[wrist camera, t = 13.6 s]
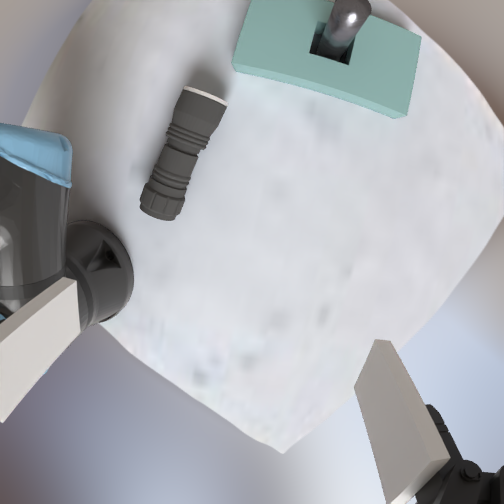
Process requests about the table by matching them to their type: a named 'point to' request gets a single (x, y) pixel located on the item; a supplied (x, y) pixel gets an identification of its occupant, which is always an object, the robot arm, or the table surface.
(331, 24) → the peg
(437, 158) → the table surface
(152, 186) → the flashlight
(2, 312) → the robot arm
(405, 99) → the hole block
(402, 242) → the table surface
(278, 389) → the table surface
